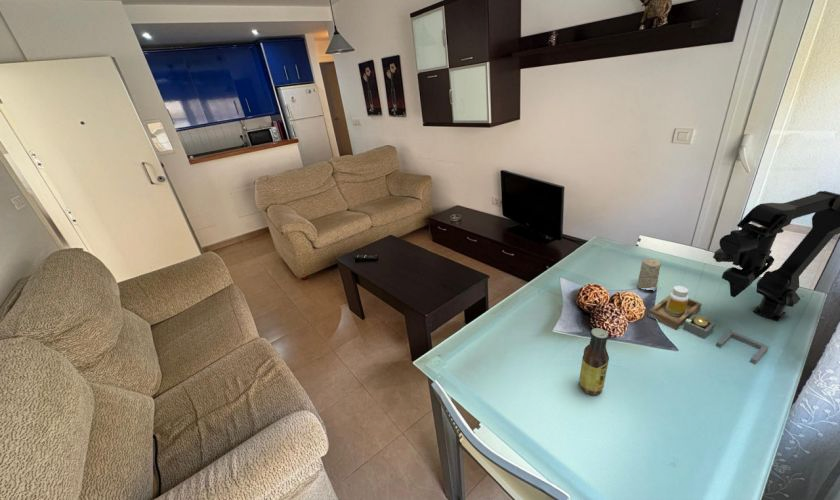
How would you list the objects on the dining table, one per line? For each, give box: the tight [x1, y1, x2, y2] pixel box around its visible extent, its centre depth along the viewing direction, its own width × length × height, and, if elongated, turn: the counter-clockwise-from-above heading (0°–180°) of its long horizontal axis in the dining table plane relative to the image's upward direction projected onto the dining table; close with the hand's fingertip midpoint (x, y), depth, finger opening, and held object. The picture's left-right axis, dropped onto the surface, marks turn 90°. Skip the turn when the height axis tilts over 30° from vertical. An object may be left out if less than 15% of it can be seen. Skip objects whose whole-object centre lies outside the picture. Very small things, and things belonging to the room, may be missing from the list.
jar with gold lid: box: [692, 315, 709, 329], centre depth 109 cm, size 4×4×3 cm
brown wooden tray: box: [648, 295, 703, 331], centre depth 118 cm, size 16×9×3 cm, turn 122°
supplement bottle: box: [665, 285, 690, 316], centre depth 116 cm, size 5×5×10 cm
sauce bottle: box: [578, 327, 610, 396], centre depth 92 cm, size 6×6×20 cm
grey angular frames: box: [682, 314, 770, 365], centre depth 105 cm, size 9×19×4 cm, turn 32°
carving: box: [637, 258, 662, 289], centre depth 129 cm, size 6×8×12 cm
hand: (739, 290), depth 106 cm, fingers open, 9 cm apart
